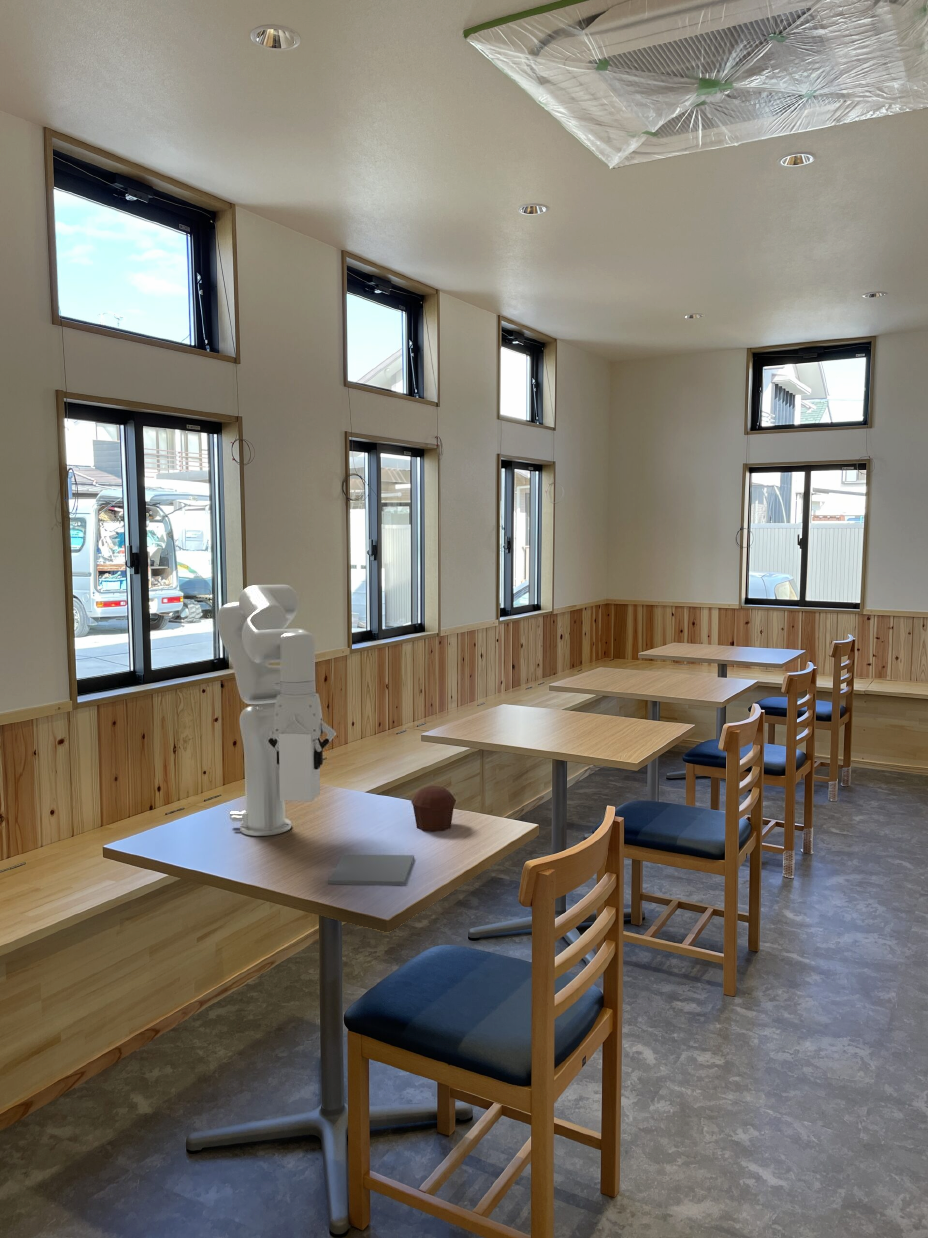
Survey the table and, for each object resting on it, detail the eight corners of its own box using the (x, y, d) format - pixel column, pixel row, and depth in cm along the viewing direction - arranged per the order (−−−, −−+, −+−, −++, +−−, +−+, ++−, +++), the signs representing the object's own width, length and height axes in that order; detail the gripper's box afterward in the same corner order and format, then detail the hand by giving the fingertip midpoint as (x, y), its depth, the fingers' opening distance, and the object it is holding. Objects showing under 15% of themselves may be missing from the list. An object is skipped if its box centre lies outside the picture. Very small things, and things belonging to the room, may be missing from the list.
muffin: (461, 831, 219) (461, 791, 218) (418, 835, 216) (417, 795, 215) (448, 817, 230) (448, 780, 230) (407, 822, 227) (406, 783, 227)
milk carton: (320, 794, 199) (318, 710, 198) (311, 802, 192) (310, 716, 191) (289, 793, 200) (287, 710, 199) (279, 802, 193) (278, 715, 192)
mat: (328, 884, 185) (328, 880, 185) (343, 857, 201) (343, 854, 201) (404, 885, 184) (404, 881, 184) (414, 858, 199) (414, 855, 199)
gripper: (254, 690, 191) (256, 771, 193) (333, 691, 190) (335, 772, 191) (264, 685, 199) (266, 763, 200) (341, 686, 197) (342, 764, 199)
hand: (299, 767), depth 196 cm, fingers closed on milk carton, 7 cm apart
